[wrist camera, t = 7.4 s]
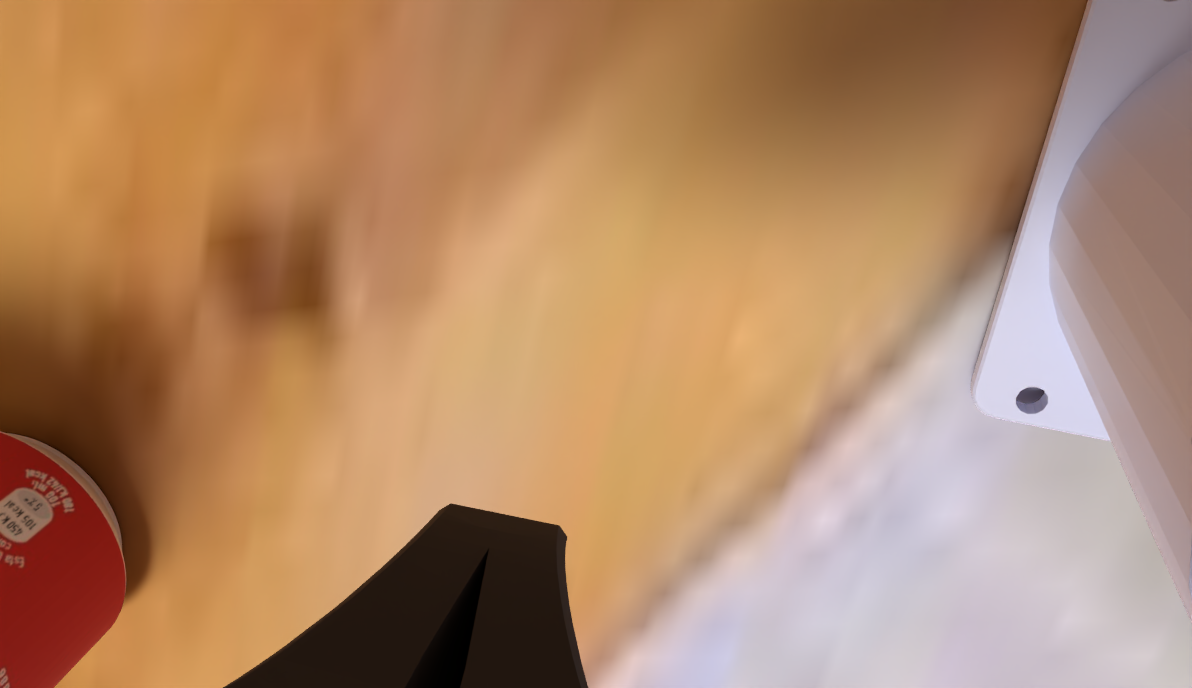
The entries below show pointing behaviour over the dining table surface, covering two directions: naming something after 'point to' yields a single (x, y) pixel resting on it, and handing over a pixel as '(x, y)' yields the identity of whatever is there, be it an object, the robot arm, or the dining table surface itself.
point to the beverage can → (53, 564)
